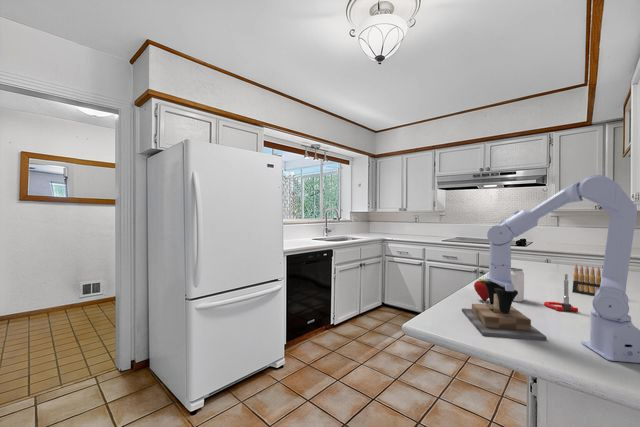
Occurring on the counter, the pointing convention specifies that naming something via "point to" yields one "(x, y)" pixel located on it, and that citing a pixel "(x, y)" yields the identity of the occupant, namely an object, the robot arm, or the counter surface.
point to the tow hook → (565, 305)
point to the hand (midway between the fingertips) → (499, 308)
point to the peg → (496, 305)
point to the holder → (502, 323)
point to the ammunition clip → (586, 281)
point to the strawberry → (481, 289)
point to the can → (518, 283)
